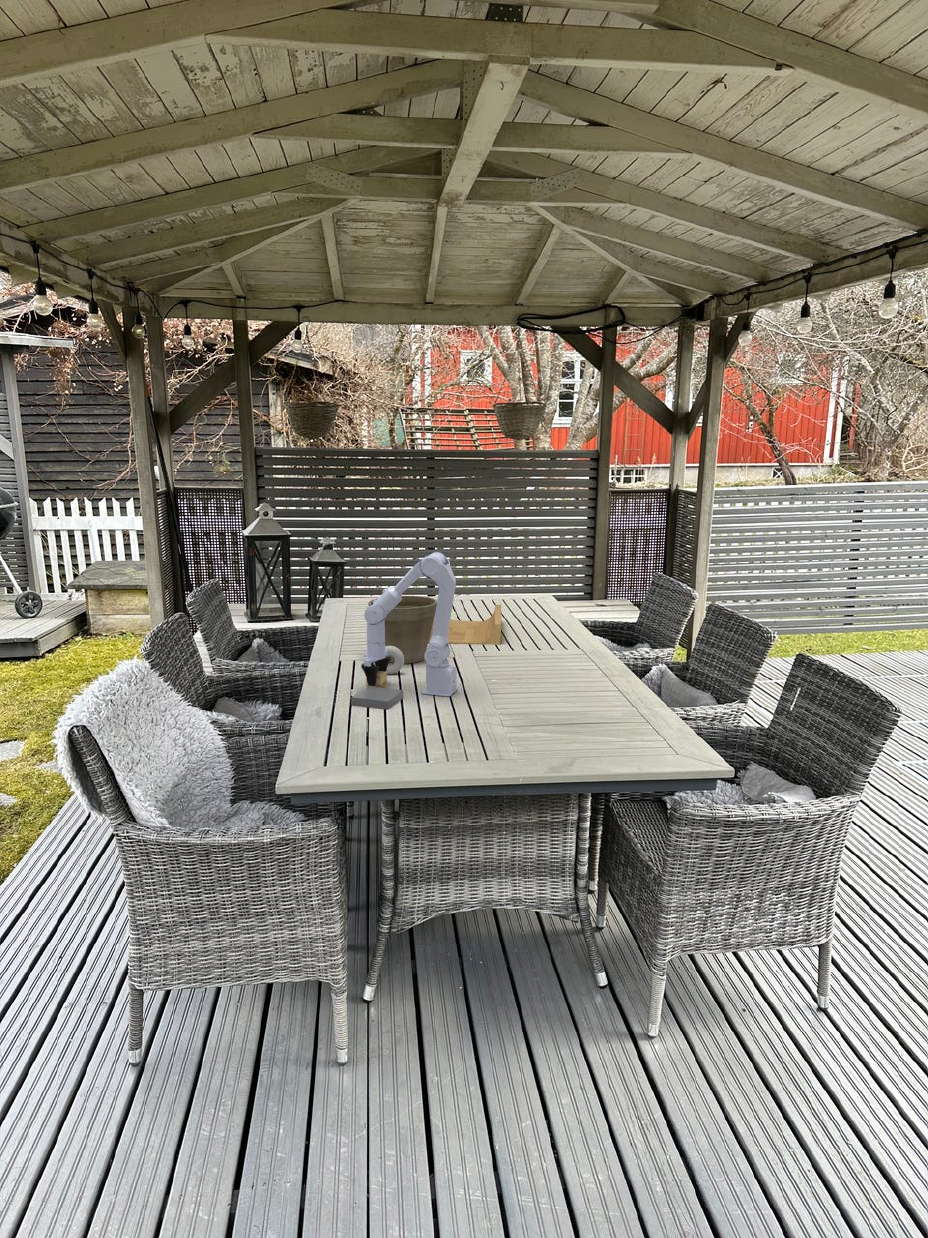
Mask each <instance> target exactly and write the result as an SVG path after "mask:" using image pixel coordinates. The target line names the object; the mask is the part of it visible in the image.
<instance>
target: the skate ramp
mask: <svg viewBox="0 0 928 1238" xmlns="http://www.w3.org/2000/svg"><path fill="white" fill-rule="evenodd" d="M497 601H498V602H499V601H500V602H501V600H499V599H498V600H497ZM498 602H496V601H495V604H494V611H493V613H492V615H491V616H490V617H489V618H487V619H486V620H481V621H479V620H477V621H476V620H459V619H457V620H456V619H450V625H449V631H448V638H449V642H448V645H451V644H452V645H453V644H454V645H490V646H491V645H493V646H496V645H497V646H500V645H501V639H502V638H501V635H502V604H498ZM496 603H497V604H496ZM434 619H435V616H434ZM433 626H434V620H433V625H432V629H431V633H430V637H429V641H428V644H429V642H430V640H431V637H432V632H433Z"/></svg>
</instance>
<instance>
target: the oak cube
mask: <svg viewBox="0 0 928 1238" xmlns="http://www.w3.org/2000/svg"><path fill="white" fill-rule="evenodd" d="M387 675H388V674H387V672H384V671H377V676H376V684H375V686H370V687H379V688H387V687H386V686H388V676H387ZM365 680H366V681H365V682H366V683H365V685H366V686H365V688H366V687H368V682H367V678H366V679H365Z"/></svg>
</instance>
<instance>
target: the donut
mask: <svg viewBox="0 0 928 1238" xmlns="http://www.w3.org/2000/svg"><path fill="white" fill-rule="evenodd" d="M385 650H388V656H389V655H390V656H393V657H394V659H395V662H394V663H391V664H388V667H387V670H386V672H387V675H395V674H397V673H399V672H400V671H401V670H402V668H403V667H404V665H405V664H404V655H403V653H402V652H401V651H400V650H399V649H398V648H396V647H394V646H385ZM386 657H387V656H386Z"/></svg>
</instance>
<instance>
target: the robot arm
mask: <svg viewBox="0 0 928 1238" xmlns="http://www.w3.org/2000/svg"><path fill="white" fill-rule="evenodd" d="M450 562H451V561H450V560H449V558H447V557H446V555H444V554H443V553H441V552H440V551H439V552H438V551H434V552H431V554H429V555H426V556H424V557H423V558H422V560H420V561H418V562H417V563H416V564H414V565H413V566H412V567H411V568H410V570H409V571H407V572H406V573H405V575H404V576H403V577H402V578H401V579H400V580H399V582H398V583H397V584H396V585H395V586H389V587H387V588H384V589H383V590H382V591H381V593H382V594H380V595H379V597H378V599H377V598H376V599H377V600H374V599H373V600H374V601H373V605H372V606H369V605H368V607H366V609H365V611H364V613H363V614H364V615H363V616H364V619H365V621H366V652H365V653H364V654H363V657H365V659H364V660H363V663H362V664H361V665H360V668H361V669H362V671H363V673H364V675H365V677H366V678H367V682H368V686H375V684H376V676H377V671H384V672H386V670H387V667H388V664H389V663H391V662H390V660H391V657H386V656H388V650H385V620H384V619H385V618H386V616H387V614H388V613H389V612H390V611H391V610H392V609H393V608H394V607H395V606H396V605H397V604H398V603H399V602H400V601H401V600H402V596H403V594H404V592H405V591H406V590H408V588H410V587H411V586H412V585H413V584H414V583H415V582H416V581H417V580H418V579H419V578H424V577H428V578H430V579H432V580H433V581H434V582H435V583H436V585H437V586H438V587H439V588H438V593H437V598H436V600H437V606H436V612H435V619H434V626H433V632H432V637H431V640H430V642H429V643H428V646H427V649H426V652H425V654H424V659H423V660H424V661H425V689H424V690H423V691H422V692H421V694H423V695H431V696H441V697H451V696H452V695H453V694H455V692H456V691H457V690H458V688H457V684H458V683H457V681H458V680H457V673H458V672H457V667H456V666H453V665H451V664H450V663H449V661H448V659H447V658H449V656H450V652H451V649H450V644H448V642H449V638H448V631H449V625H450V619H451V618H452V610H453V605H454V599H455V591H456V586H457V585H456V584H457V579H456V577H455V574H454V571H453V569H452V567H451V563H450Z"/></svg>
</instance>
